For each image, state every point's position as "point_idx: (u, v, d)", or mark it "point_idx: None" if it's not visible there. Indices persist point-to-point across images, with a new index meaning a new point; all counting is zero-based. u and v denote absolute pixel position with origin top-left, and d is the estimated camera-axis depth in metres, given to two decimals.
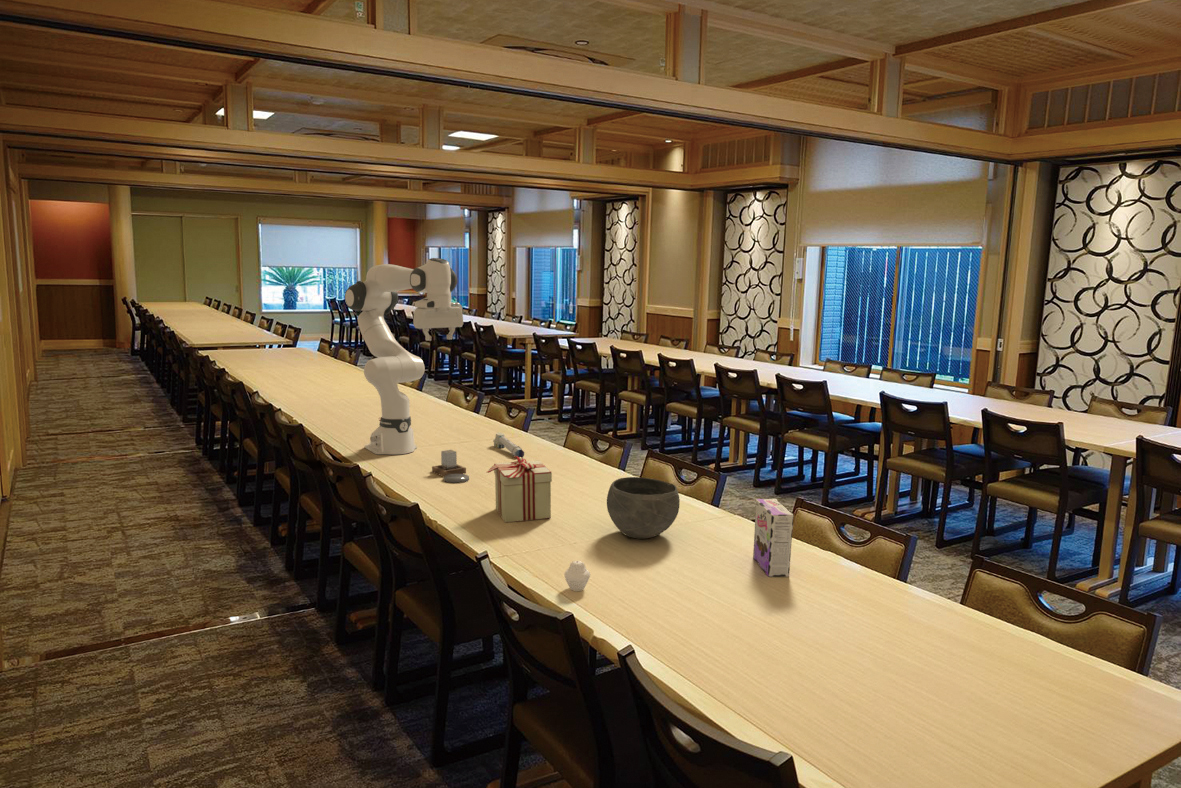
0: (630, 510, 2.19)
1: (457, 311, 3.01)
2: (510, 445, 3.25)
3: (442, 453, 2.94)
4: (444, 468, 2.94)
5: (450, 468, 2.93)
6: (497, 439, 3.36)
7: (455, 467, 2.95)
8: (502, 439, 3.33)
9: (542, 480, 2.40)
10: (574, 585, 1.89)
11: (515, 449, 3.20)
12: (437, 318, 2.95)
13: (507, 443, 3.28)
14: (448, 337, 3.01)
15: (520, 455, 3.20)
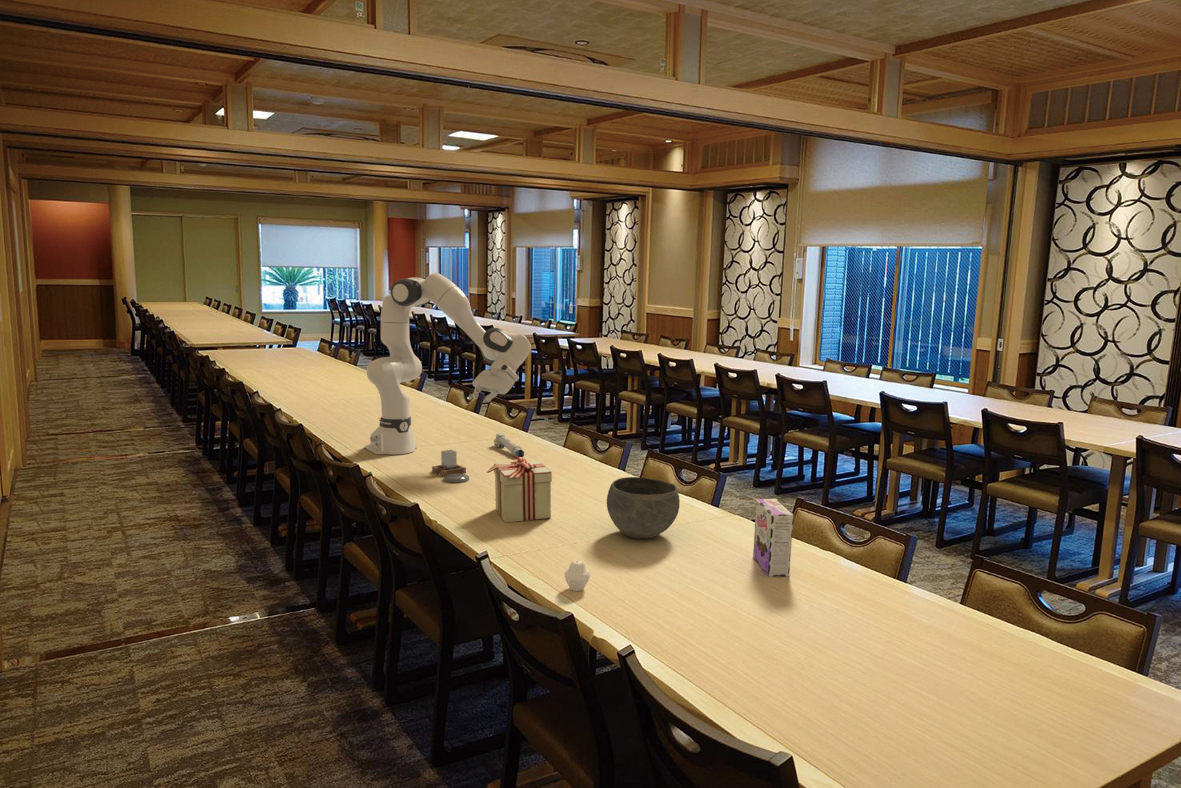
0: (630, 510, 2.19)
1: None
2: (510, 445, 3.25)
3: (442, 453, 2.94)
4: (444, 468, 2.94)
5: (450, 468, 2.93)
6: (497, 439, 3.36)
7: (455, 467, 2.95)
8: (502, 439, 3.33)
9: (542, 480, 2.40)
10: (574, 585, 1.89)
11: (515, 449, 3.20)
12: None
13: (507, 443, 3.28)
14: (476, 396, 3.03)
15: (520, 455, 3.20)
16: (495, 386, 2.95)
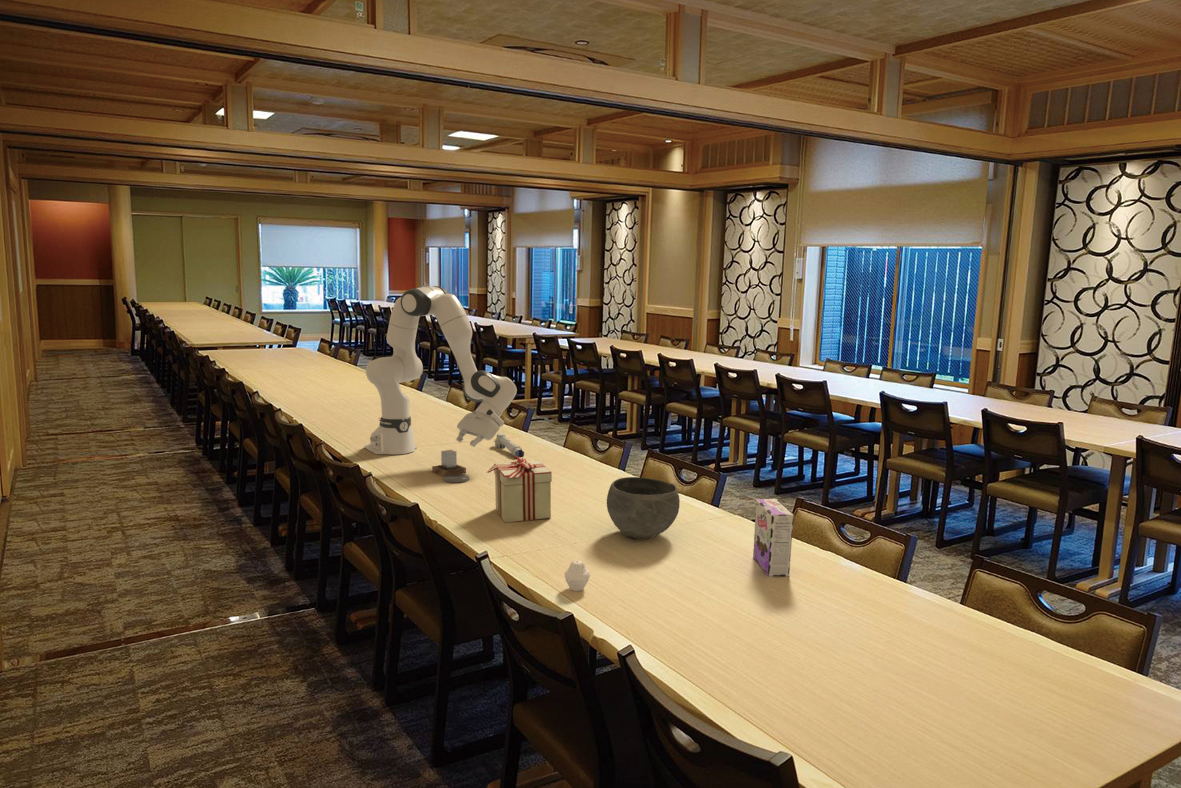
0: (630, 510, 2.19)
1: None
2: (510, 445, 3.25)
3: (442, 453, 2.94)
4: (444, 468, 2.94)
5: (450, 468, 2.93)
6: (498, 439, 3.36)
7: (455, 467, 2.95)
8: (503, 439, 3.33)
9: (542, 480, 2.40)
10: (574, 585, 1.89)
11: (515, 449, 3.20)
12: None
13: (507, 443, 3.27)
14: (460, 440, 3.02)
15: (520, 455, 3.19)
16: (480, 431, 2.94)
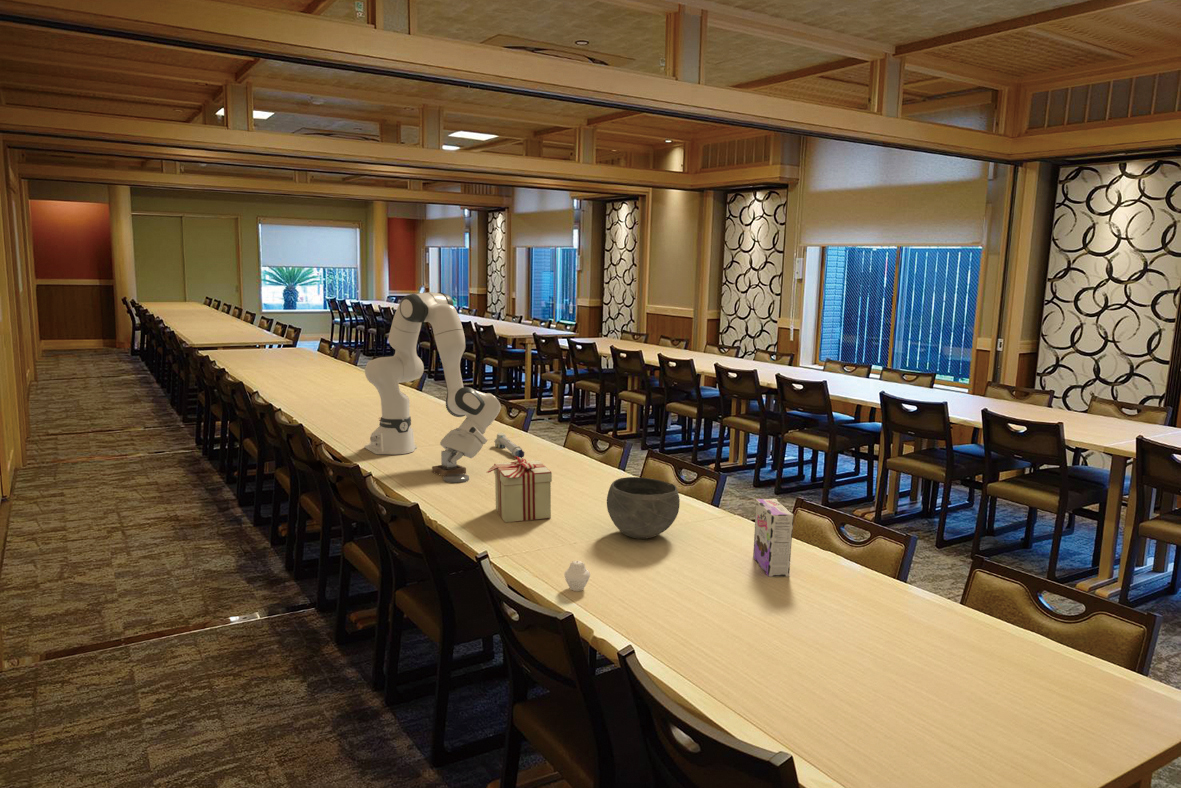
0: (630, 510, 2.19)
1: None
2: (510, 445, 3.25)
3: (442, 453, 2.94)
4: (444, 468, 2.94)
5: (450, 468, 2.93)
6: (498, 439, 3.36)
7: (455, 467, 2.95)
8: (503, 439, 3.32)
9: (542, 480, 2.40)
10: (574, 585, 1.89)
11: (515, 449, 3.20)
12: None
13: (508, 443, 3.27)
14: None
15: (520, 455, 3.19)
16: (463, 449, 2.90)
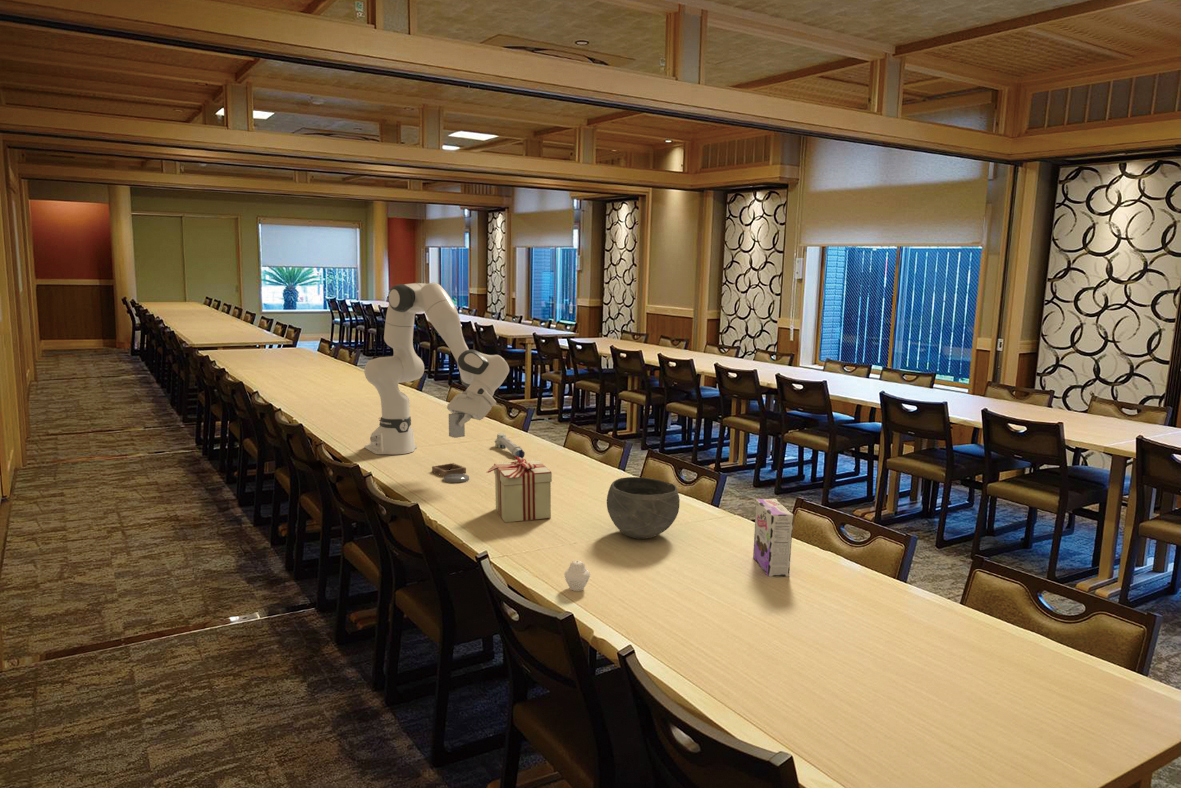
0: (630, 510, 2.19)
1: None
2: (511, 445, 3.24)
3: (449, 416, 2.82)
4: (452, 431, 2.82)
5: (458, 431, 2.81)
6: (498, 439, 3.36)
7: (463, 430, 2.83)
8: (503, 439, 3.32)
9: (542, 480, 2.40)
10: (574, 585, 1.89)
11: (515, 449, 3.20)
12: None
13: (508, 443, 3.27)
14: None
15: (520, 455, 3.19)
16: (471, 411, 2.78)
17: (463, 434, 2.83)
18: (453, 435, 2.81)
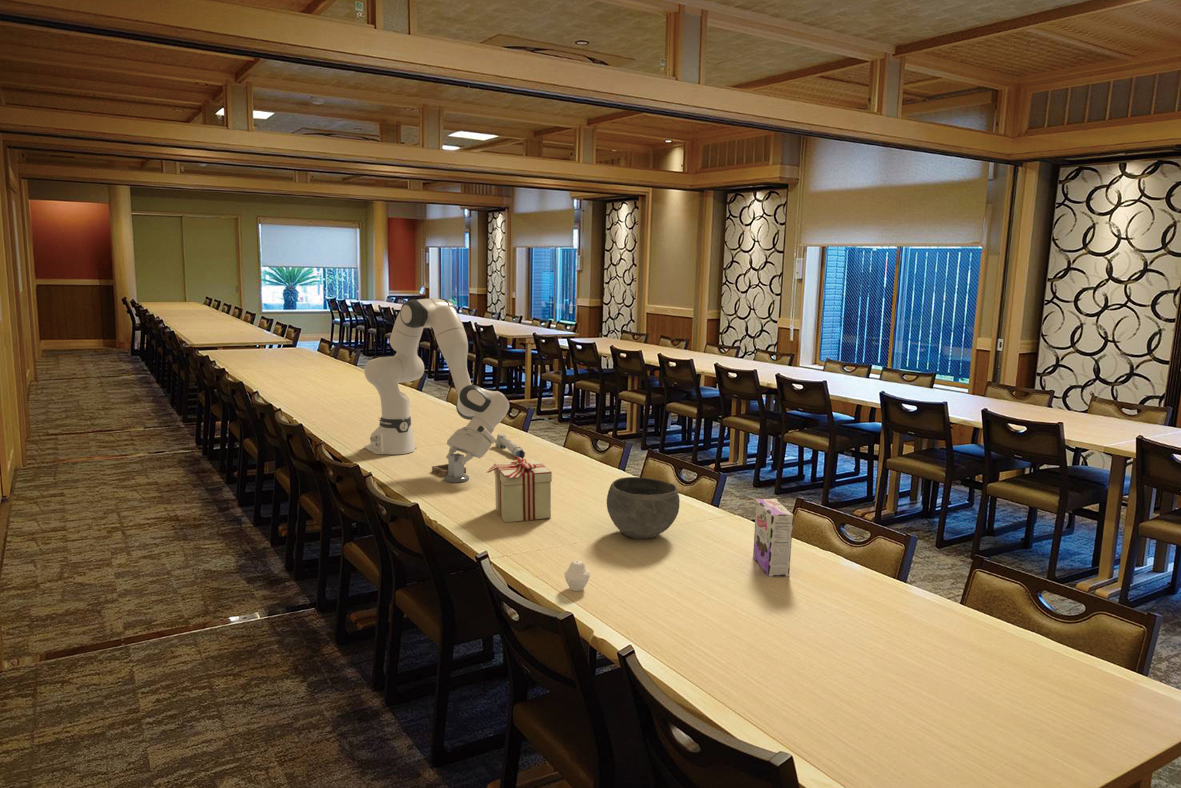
0: (630, 510, 2.19)
1: None
2: (511, 445, 3.24)
3: (449, 457, 2.84)
4: (451, 472, 2.84)
5: (457, 472, 2.83)
6: (499, 439, 3.36)
7: (462, 471, 2.85)
8: (503, 439, 3.32)
9: (542, 480, 2.40)
10: (574, 585, 1.89)
11: (516, 450, 3.19)
12: None
13: (508, 443, 3.27)
14: None
15: (521, 456, 3.19)
16: (470, 449, 2.80)
17: (462, 475, 2.85)
18: (452, 476, 2.83)
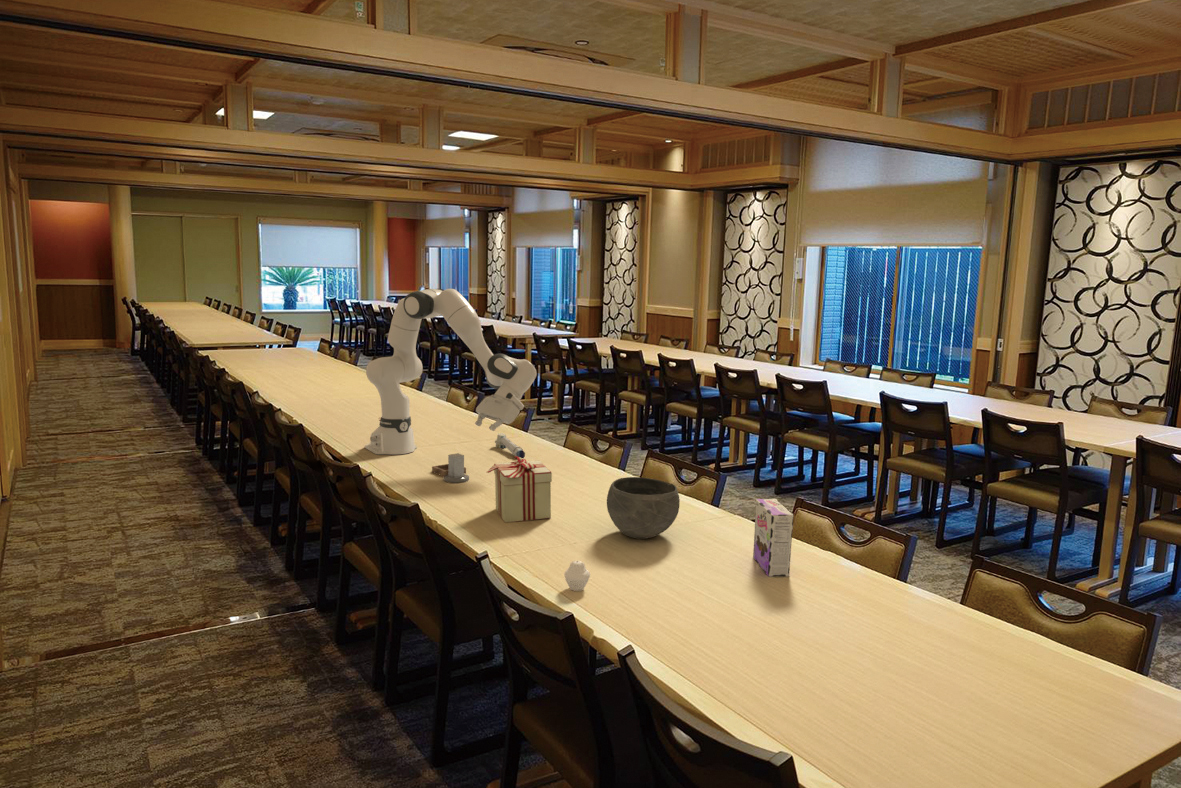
0: (630, 510, 2.19)
1: None
2: (511, 446, 3.24)
3: (449, 457, 2.84)
4: (451, 472, 2.84)
5: (457, 472, 2.83)
6: (499, 440, 3.35)
7: (462, 471, 2.85)
8: (504, 440, 3.32)
9: (542, 480, 2.40)
10: (574, 585, 1.89)
11: (516, 450, 3.19)
12: None
13: (508, 444, 3.27)
14: (479, 424, 2.95)
15: (521, 456, 3.19)
16: (500, 415, 2.87)
17: (462, 475, 2.85)
18: (452, 476, 2.83)
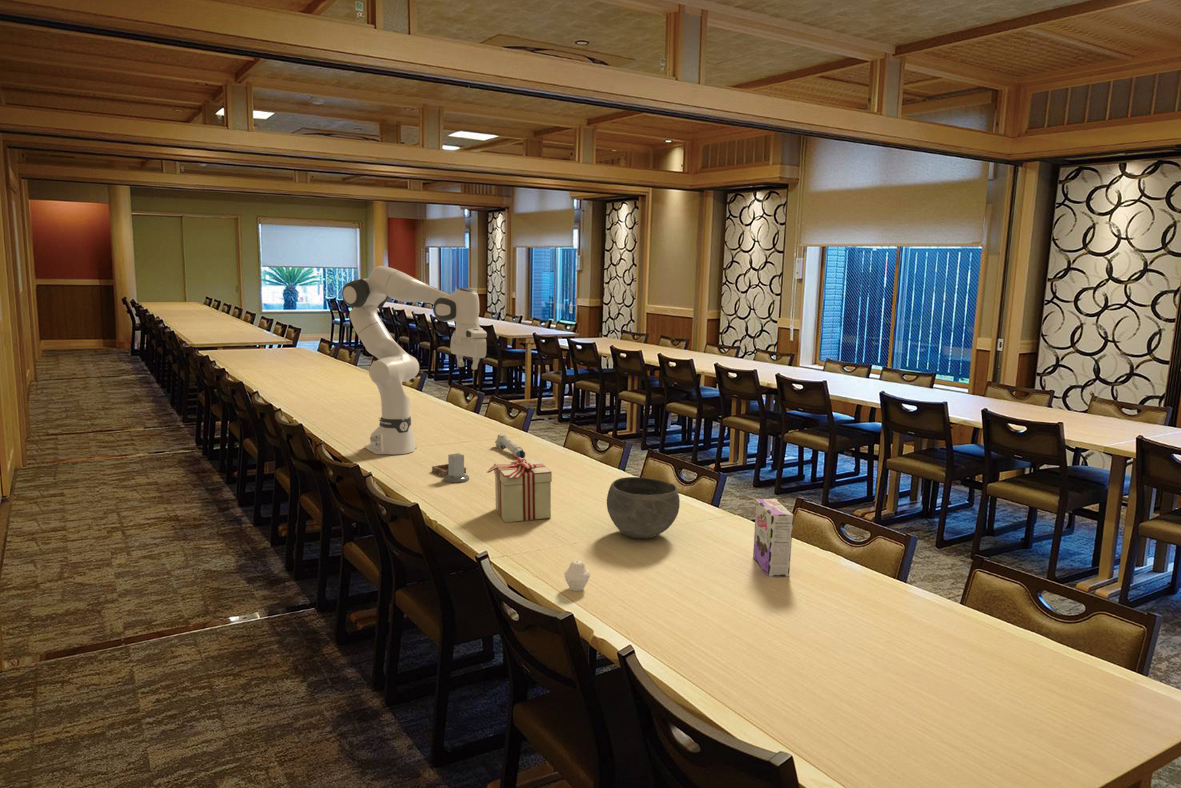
0: (630, 510, 2.19)
1: None
2: (511, 446, 3.24)
3: (449, 457, 2.84)
4: (451, 472, 2.84)
5: (457, 472, 2.83)
6: (499, 440, 3.35)
7: (462, 471, 2.85)
8: (504, 440, 3.31)
9: (542, 480, 2.40)
10: (574, 585, 1.89)
11: (516, 450, 3.19)
12: None
13: (508, 444, 3.26)
14: (462, 364, 3.07)
15: (521, 456, 3.18)
16: (473, 355, 2.97)
17: (462, 475, 2.85)
18: (452, 476, 2.83)
